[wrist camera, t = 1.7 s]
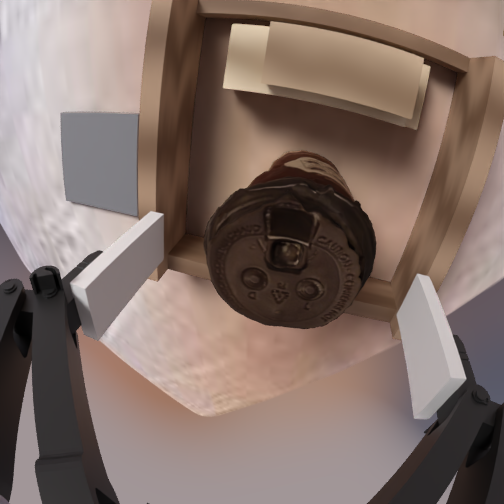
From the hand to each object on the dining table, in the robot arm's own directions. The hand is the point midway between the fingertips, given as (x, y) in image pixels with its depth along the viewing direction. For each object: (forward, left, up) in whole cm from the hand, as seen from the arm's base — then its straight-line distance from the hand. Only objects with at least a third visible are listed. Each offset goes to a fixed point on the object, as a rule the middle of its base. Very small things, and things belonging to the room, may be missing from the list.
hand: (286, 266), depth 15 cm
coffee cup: (0, 0, -12) cm, 12 cm away
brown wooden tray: (-3, 0, -12) cm, 12 cm away
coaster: (+1, -20, -12) cm, 23 cm away
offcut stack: (-10, 0, -12) cm, 15 cm away
